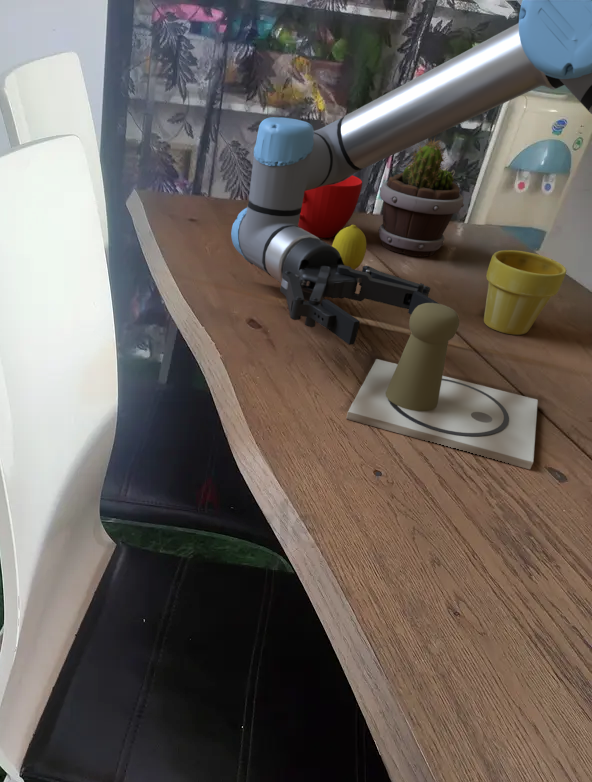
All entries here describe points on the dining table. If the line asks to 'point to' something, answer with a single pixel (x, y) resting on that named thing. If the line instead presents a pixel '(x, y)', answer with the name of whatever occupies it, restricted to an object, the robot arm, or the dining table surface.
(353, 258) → the lemon
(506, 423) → the drawing sheet
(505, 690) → the dining table surface
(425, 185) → the flowerpot
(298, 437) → the dining table surface
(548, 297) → the flower pot
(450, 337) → the olive pawn
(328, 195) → the ceramic cup
